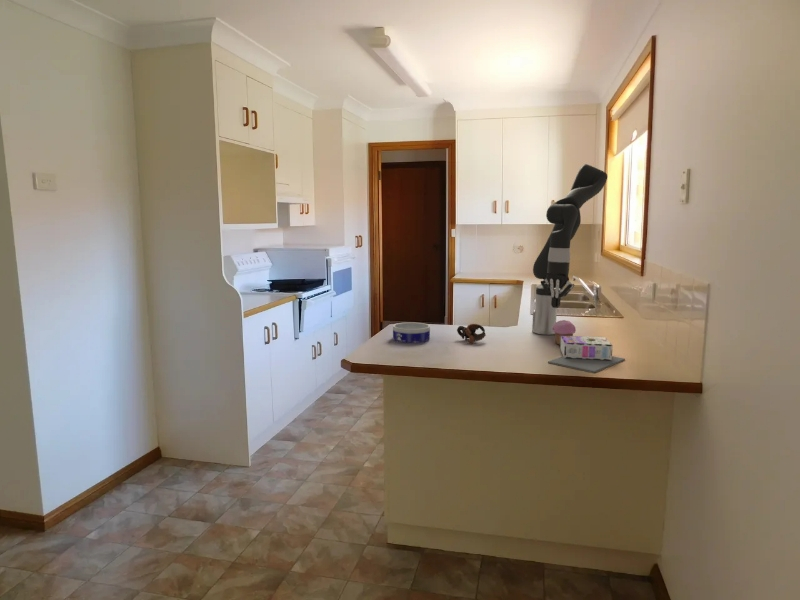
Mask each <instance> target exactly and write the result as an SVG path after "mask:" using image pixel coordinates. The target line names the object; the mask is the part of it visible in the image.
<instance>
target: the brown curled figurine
mask: <svg viewBox="0 0 800 600" xmlns="http://www.w3.org/2000/svg"><path fill="white" fill-rule="evenodd" d="M479 329H480V330H481V331H482V332H481V333H476V331H477V330H479ZM456 332H457V334H458V335H459V336H460V337H461V339H462V340H467V339H468V343H469V344H473V343H475V342H479V341H482V340H483V339H484V338H485V337H486V336H487V335H486V334H487V333H486V330H485V327H484V326H483V325H481V324H478V323H469V324H468V325H467V327H466V326H463V325H459V326H458V327H457V329H456Z"/></svg>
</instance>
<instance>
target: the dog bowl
mask: <svg viewBox="0 0 800 600" xmlns="http://www.w3.org/2000/svg"><path fill="white" fill-rule="evenodd" d="M430 332H431V325H430V324H428V323H423V322H414V321H413V322H399V323H394V324H393V325H392V336H393V337H392V339H393V341H394V342H397V343H402V344H423V343H427V342H429V341H430V339H431V338H430V336H431V335H430Z"/></svg>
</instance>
